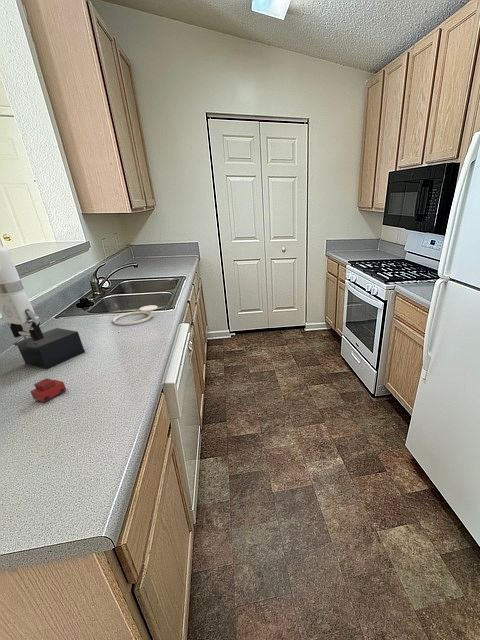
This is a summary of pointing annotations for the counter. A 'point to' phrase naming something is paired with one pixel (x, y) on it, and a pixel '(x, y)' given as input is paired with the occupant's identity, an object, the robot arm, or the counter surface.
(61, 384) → the toy car
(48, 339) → the box lid
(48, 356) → the open lidded box
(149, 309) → the hand towel holder
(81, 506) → the counter surface
